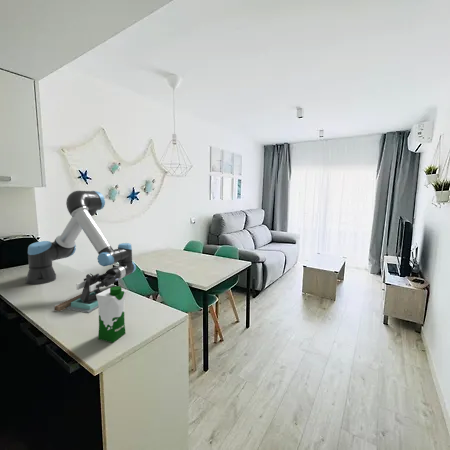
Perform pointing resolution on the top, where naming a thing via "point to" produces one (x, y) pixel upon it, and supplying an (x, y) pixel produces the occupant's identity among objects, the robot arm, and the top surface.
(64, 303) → the strip
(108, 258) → the robot arm
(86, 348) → the top surface
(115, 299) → the milk carton
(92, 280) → the phone stand
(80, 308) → the cradle
